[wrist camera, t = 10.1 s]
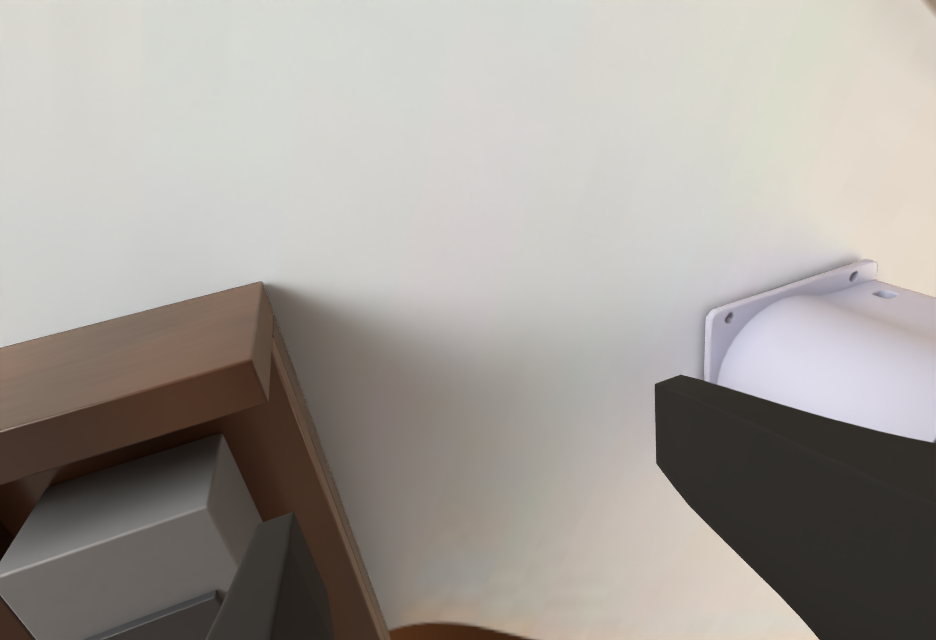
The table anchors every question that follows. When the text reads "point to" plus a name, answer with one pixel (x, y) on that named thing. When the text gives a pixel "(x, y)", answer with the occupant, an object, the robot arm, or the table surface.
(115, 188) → the table surface
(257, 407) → the wooden tray
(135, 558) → the remote
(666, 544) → the table surface
